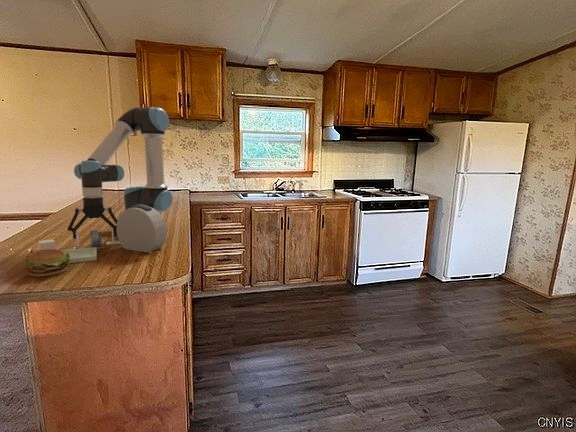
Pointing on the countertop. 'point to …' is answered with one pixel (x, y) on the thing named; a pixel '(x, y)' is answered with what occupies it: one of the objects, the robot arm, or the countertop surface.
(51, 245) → the cream block
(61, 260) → the food
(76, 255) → the tray
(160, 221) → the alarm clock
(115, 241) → the label tile
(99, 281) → the countertop surface
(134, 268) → the countertop surface
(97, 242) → the metal door knob
